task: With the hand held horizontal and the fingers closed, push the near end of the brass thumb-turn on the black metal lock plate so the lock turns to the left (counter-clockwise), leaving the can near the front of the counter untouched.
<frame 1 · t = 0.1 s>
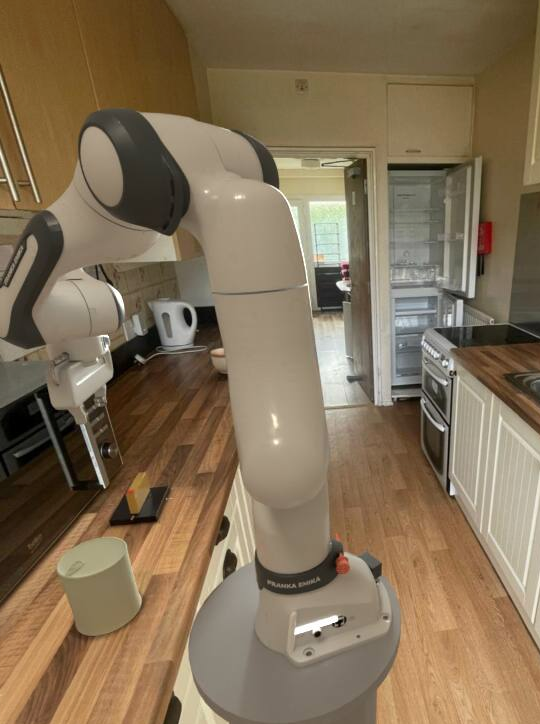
hand: (92, 413, 87), 23 cm above the table, tool pointing down, fingers open, 8 cm apart
lidded bowl: (228, 371, 191), on the table
lock plate: (142, 507, 96), on the table
can: (110, 612, 69), on the table
lock turn: (138, 491, 94), point 4 cm above the table, hinge at 0.0°
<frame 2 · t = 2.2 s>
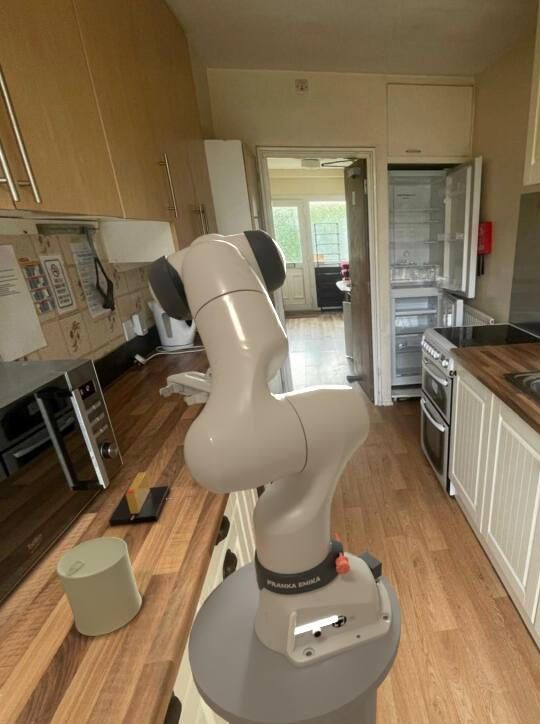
hand: (173, 397, 98), 22 cm above the table, tool horizontal, fingers open, 8 cm apart
nothing on the table moved.
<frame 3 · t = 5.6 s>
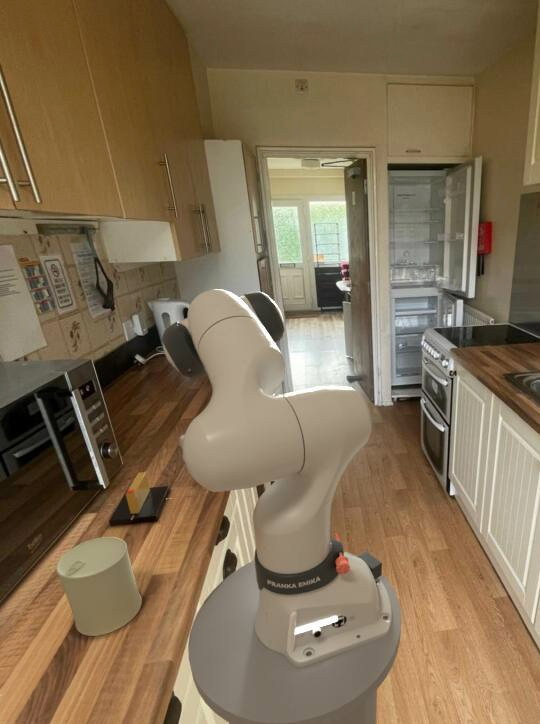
hand: (186, 460, 104), 6 cm above the table, tool horizontal, fingers closed
nothing on the table moved.
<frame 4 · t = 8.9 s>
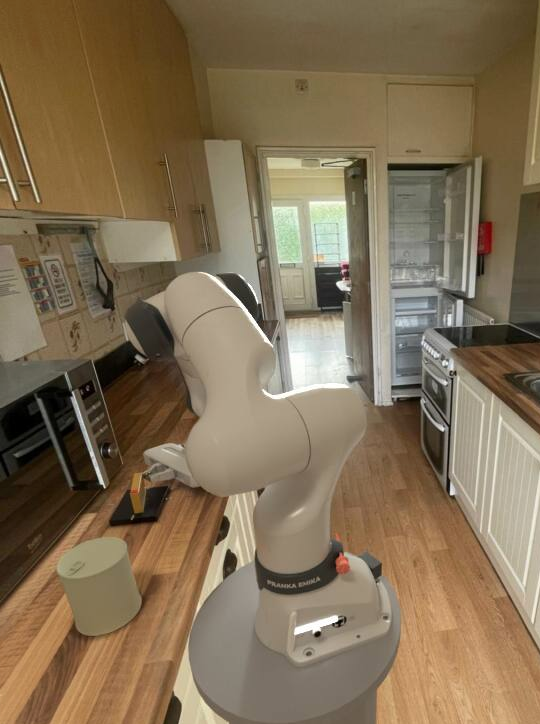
hand: (147, 478, 97), 5 cm above the table, tool horizontal, fingers closed
lock turn: (138, 491, 94), point 4 cm above the table, hinge at 10.4°, touching gripper
everything else where it was.
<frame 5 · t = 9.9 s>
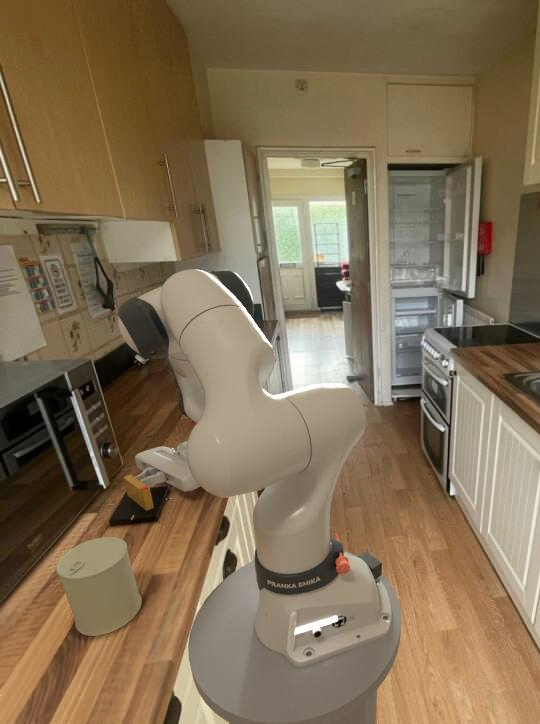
hand: (138, 482, 95), 5 cm above the table, tool horizontal, fingers closed
lock turn: (138, 491, 94), point 4 cm above the table, hinge at 39.3°, touching gripper
everything else where it was.
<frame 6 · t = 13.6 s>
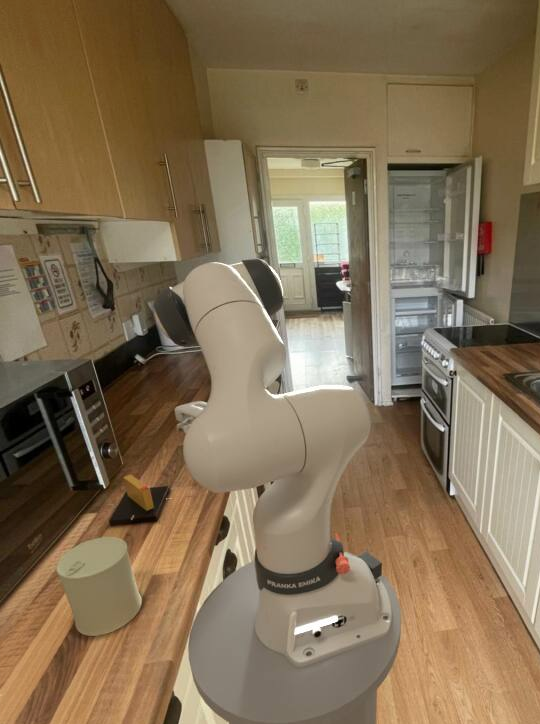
hand: (180, 429, 101), 14 cm above the table, tool horizontal, fingers closed
lock turn: (138, 491, 94), point 4 cm above the table, hinge at 39.3°
everything else where it was.
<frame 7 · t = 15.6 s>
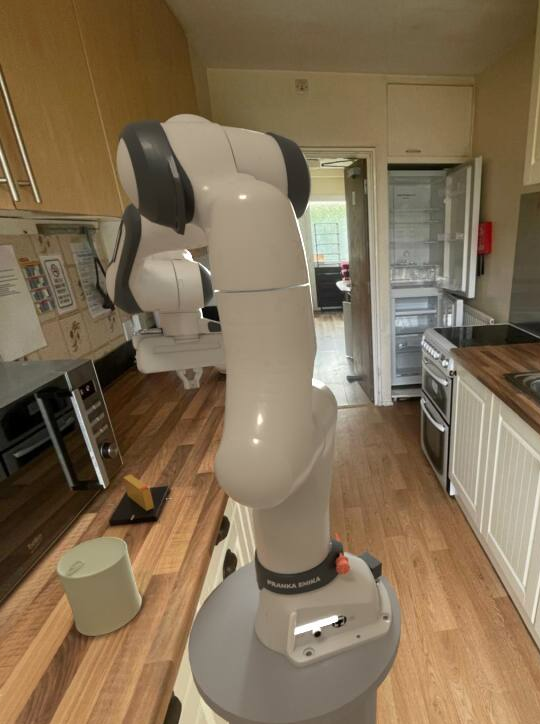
hand: (192, 388, 98), 24 cm above the table, tool pointing down, fingers closed
nothing on the table moved.
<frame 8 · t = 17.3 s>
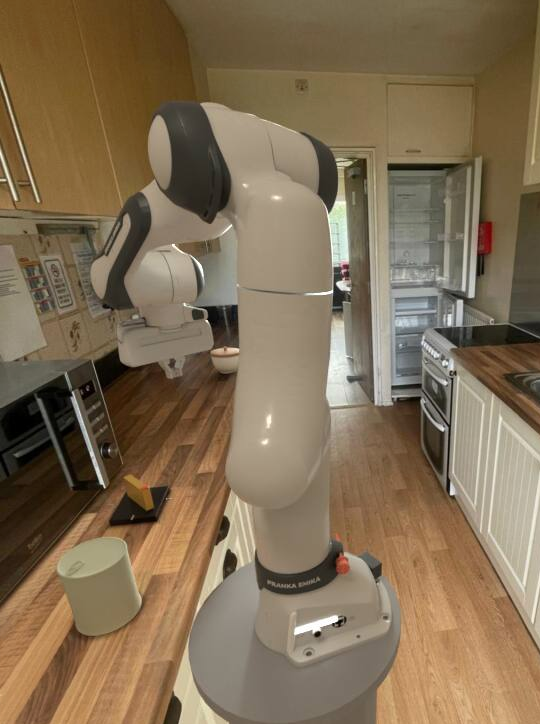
hand: (174, 376, 96), 27 cm above the table, tool pointing down, fingers closed
nothing on the table moved.
at the end: lock turn at +39° (first picture: +0°); can moved 0.2 cm from its start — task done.
